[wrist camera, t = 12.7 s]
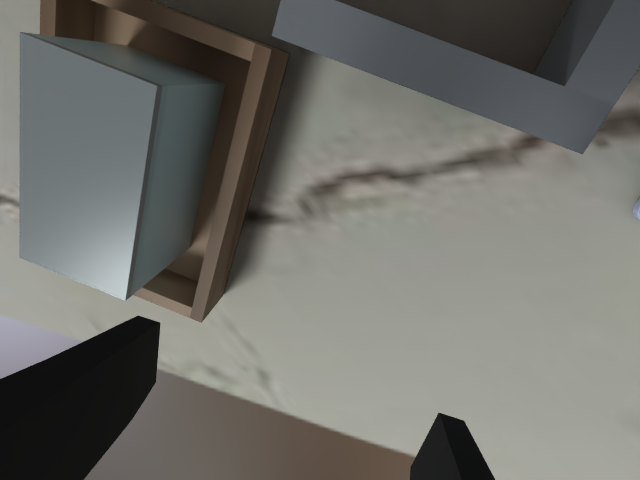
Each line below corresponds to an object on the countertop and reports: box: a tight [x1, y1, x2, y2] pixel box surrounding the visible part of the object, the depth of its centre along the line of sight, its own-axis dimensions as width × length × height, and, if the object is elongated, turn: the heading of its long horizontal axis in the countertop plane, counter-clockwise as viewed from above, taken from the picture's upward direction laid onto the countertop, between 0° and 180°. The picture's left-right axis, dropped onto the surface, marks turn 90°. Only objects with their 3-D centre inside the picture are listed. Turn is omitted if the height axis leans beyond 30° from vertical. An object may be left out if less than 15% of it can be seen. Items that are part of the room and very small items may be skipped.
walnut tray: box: [40, 0, 290, 323], centre depth 17 cm, size 9×12×2 cm
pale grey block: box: [20, 32, 226, 301], centre depth 15 cm, size 4×8×5 cm, turn 161°
